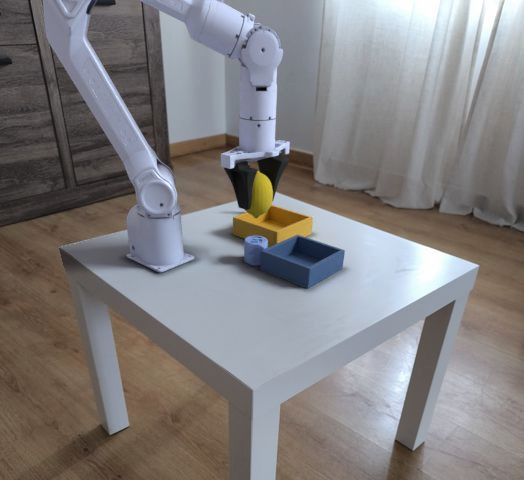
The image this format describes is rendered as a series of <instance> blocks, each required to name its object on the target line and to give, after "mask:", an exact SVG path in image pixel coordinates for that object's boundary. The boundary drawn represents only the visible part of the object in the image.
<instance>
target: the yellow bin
mask: <svg viewBox="0 0 524 480" xmlns="http://www.w3.org/2000/svg"><path fill="white" fill-rule="evenodd" d="M313 219H314V217H313V216H310V215H306V214H303V213H300V212H297V211H294V210H290V209H287V208H283V207H280V206H277V205H274V204H271V207H270V208H269V210H268V211H267V212H266V213H264V214H262V215H260V216H259V217H258V218H254V217H253V216H252V215H251V214H249V213H247V212H246V211H245V212H244V213H240V214H238V215H236V216H233V217H232V235H233V236H237V237H239V238H242V239H245V238H247V237H249V236H262V237H265V238H266V239H267V240H268V247H271V246H273V245H275V244H277V243H280V242H282V241H284V240H286V239H289V238H291V237H293V236H295V235H300V236H303V237H306V238H307V237H308V236H310V235H312V232H313V222H314V220H313Z"/></svg>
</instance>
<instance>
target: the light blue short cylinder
mask: <svg viewBox="0 0 524 480" xmlns="http://www.w3.org/2000/svg"><path fill="white" fill-rule="evenodd" d="M243 240H244V245H243V261H244V262H245V264H246V265H250V266H253V267H254V266H256V267H257V266H261V251H262V250H264V249H266V248H268V240H267V239H266V238H265V237H262V236H249V237H247V238H244V239H243Z"/></svg>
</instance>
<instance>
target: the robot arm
mask: <svg viewBox="0 0 524 480" xmlns="http://www.w3.org/2000/svg"><path fill="white" fill-rule="evenodd" d="M138 1H139V2H141V3H143V4H145V5H148V6H150V7H152V8H154V9H156V10H158V11H160V12H161V13H164V14H166V15H168V16H170V17H171V18H174V19H176V20H178V21H179V22H181V23H184V24H185V26H186V30H187V32H188V35H189V37H190V39H191V40H193V41H195V42H197V43H198V44H201V45H202V46H205V47H206V48H208V49H210V50H212V51H214V52H217V53H218V54H220V55H222V56H223V57H226V58H228V59H230V60H234V59H237V60H238V62H239V63H240V64H239V65H240V66H239V68H240V69H239V70H240V71H239V77H240V78H239V79H240V80H239V85H238V95H239V96H238V146H236V147H234V148H232V149H230V150H228V151H225V152H223V153H220V167H221V168H223V170H224V171H225V173H226V175H227V176H228V179H229V181H230V183H231V186H232V188H233V190H234V194H235V197H236V202H237V206H238V208H239V209H241V210H244V209H245V210H249V209H250V207H251V200H252V188H253V183H254V179H255V176H256V173H257V171H259V172H260V173H262V174H264V175H265V176H267V177H268V179H269V180H270V182H271V185H272V189H273V200H272V202H274V199H275V196H276V193H277V189H278V186H279V183H280V180H281V177H282V175H283V173H284V171H285V169H286V168H287V166H288V165H289V158H288V157H285V156H283V155H289V154H290V146H291V145H290V144H291V141H287V140H284V139H283V140H282V139H279V140H276V126H277V124H276V123H277V104H278V103H277V101H278V100H277V99H278V84H277V79H278V78H277V77H278V67H279V65H280V64H281V62H282V59H283V57H284V56H283V55H284V50H283V48H282V42H281V39H280V37H279V36H278V34H277V32H276V31H275V30H274V29H273V28H271V27H269V26H267V25H262V23H260V22H255V19H256V16H255V15H254V14H252V13H250V12H248V13H246V14H244V13H242V12H241V11H239V10H237V9H235V8H233V7H231V6H230V5H228V4H226V3H224V0H138ZM97 2H98V0H42V10H43V20H44V30H45V37H46V39H47V42H48V44H49V45H50V47H51V48H52V50H53V52H54V54H55V56H56V57H57V59H58V60H59V61H60V63H61V65H62V67H63V68H64V70H65V71H66V73H67V75H68V76H69V78H70V79H71V81H72V82H73V84H74V86H75V87H76V89H77V91H78V92H79V94H80V96H81V97H82V99H83V100H84V101H85V104H86V105H87V107H88V108H89V110H90V112H91V113H92V115H93V116H94V118H95V119H96V121H97V123H98V124H99V126H100V127H101V129H102V131H103V132H104V134H105V136H106V138H107V139H108V141H109V142H110V144H111V145H112V147H113V149H114V150H115V152H116V153H117V155H118V157H119V158H120V160H121V162H122V163H123V165H124V168H125V171H126V173H127V177H128V179H129V181H130V182H131V184H132V186H133V188H134V190H135V197H136V198H135V199H136V203H137V204H135V205H133V206H132V207H131V208H130V209H129V211H128V213H127V216H126V223H125V224H126V231H127V239H128V247H129V253H126V255H125V256H126V258H127V259H129V260H132V261H134V262H136V263H138V264H140V265H142V266H145V267H147V268H148V269H151V270H153V271H155V272H157V273H164V272H166V271H169V270H171V269H174V268H176V267H178V266H181V265H184V264H186V263H189V262H191V261H193V260H195V256H194V255H192V254H190V253H187V252H186V251H184V241H183V225H182V209H181V205H180V204H179V203H178V192H177V189H176V176H175V173H174V171H173V170H172V169H171V167H169V166H168V165H167V164H166V163H164V162H162V161H161V160H160V158H159V157H158V155H157V154H156V152H155V150H154V149H153V148H152V147H151V145H149V143H148V141H147V139H146V138H145V136H144V135H143V132H142V131H141V129H140V127H139V126H138V124H137V122H136V121H135V119H134V117H133V115H132V114H131V112H130V110H129V108H128V107H127V104H126V103H125V101H124V100H123V98H122V95H120V93H119V91H118V89H117V88H116V85H115V83H113V81H112V79H111V77H110V75H109V74H108V73H109V72H107V70H106V69H105V66H104V65H103V63H102V61H101V60H100V58H99V56H98V54H97V53H96V51H95V49H94V47H93V45H92V44H91V42H90V41H89V38H88V31H89V28H90V27H89V26H90V22H91V17H92V11H93V9H94V7H95V5H96V4H97ZM253 162H256V163H257V166H258V169H257V168H253V167H251V165H250V164H249V163H253ZM245 210H244V211H245Z"/></svg>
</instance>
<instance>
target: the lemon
mask: <svg viewBox="0 0 524 480" xmlns="http://www.w3.org/2000/svg"><path fill="white" fill-rule="evenodd" d="M272 200H273V189H272V185H271V182H270V180H269V179H268V177H267V176H265V175H264V174H262V173H260V171H259V170H258V171H257V173H256V176H255V179H254V183H253V188H252V200H251V207H250V209H249V210H245V209H243V210H244V211H245V213H246V212H247V213H249V214H251V215H252V216H253V217H254V218H258V217H259V216H260V215H262V214H264V213H266V212H267V211H268V210H269V208H270V207H271V205H273V201H274V200H273V201H272Z"/></svg>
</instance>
